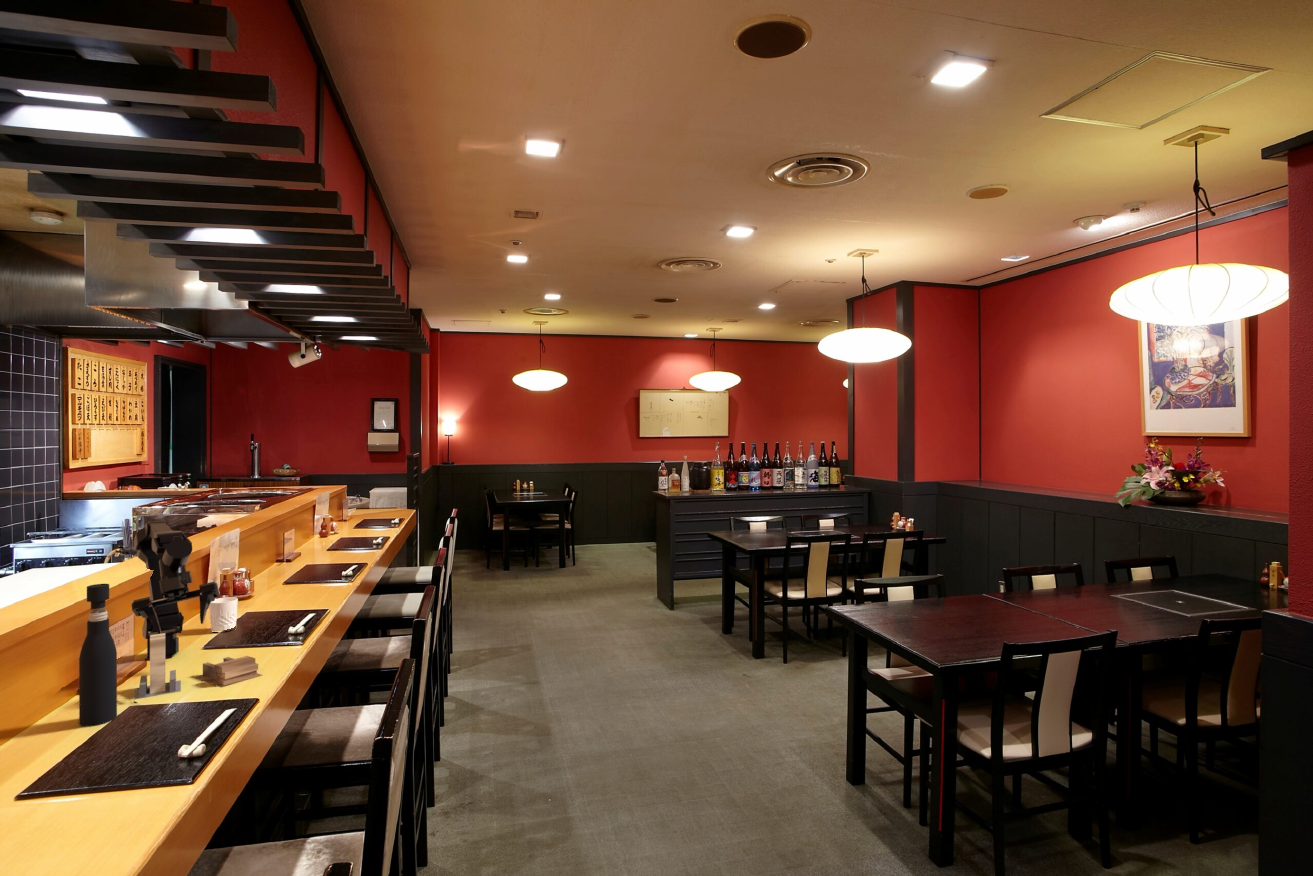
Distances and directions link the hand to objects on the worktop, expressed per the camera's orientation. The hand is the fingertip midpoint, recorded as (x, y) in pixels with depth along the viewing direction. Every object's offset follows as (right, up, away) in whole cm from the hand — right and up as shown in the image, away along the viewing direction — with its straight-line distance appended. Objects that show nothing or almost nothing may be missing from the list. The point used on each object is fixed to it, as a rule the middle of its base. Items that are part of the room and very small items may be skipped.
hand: (181, 628), depth 176 cm
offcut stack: (+18, -11, -5) cm, 22 cm away
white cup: (-16, -13, +43) cm, 47 cm away
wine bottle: (+1, -13, -28) cm, 30 cm away
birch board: (+3, -11, -12) cm, 17 cm away
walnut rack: (+15, -12, -3) cm, 19 cm away
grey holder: (+3, -12, -12) cm, 18 cm away
